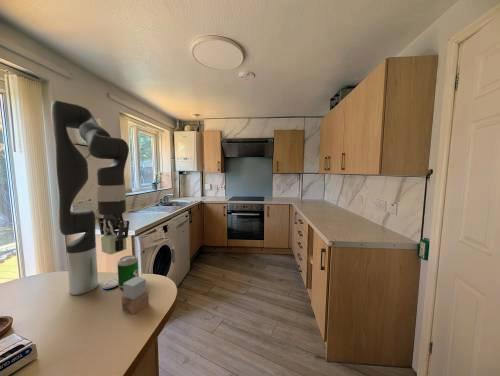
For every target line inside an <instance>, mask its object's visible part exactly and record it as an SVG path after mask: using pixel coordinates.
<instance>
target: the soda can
mask: <svg viewBox="0 0 500 376" xmlns="http://www.w3.org/2000/svg"><path fill="white" fill-rule="evenodd" d="M117 276H118V277H117V279H118V281H117V282H118V283H117V284H118V287H119V288H121V289H123V283H124V282H126V281H128V280H130V279H132V278H134V277H136V276H137V277H140V276H139V259H138V257H137V256H135V255H126V256H122V257H120V258H119V260H118V261H117Z"/></svg>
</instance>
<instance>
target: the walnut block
mask: <svg viewBox="0 0 500 376" xmlns="http://www.w3.org/2000/svg"><path fill="white" fill-rule="evenodd" d="M149 297H150V296H149V291H147V290H146V292H145V293H144V294H142V295H141V296H139V297H138V298H136V299H135V300H132V299H129V298H126V297H124V295H123V296H121V307H122V311H124V312H126V313H128V314H131V315H132V316H134V315H136V314H137V313H139V312H140V311H141V310H143V309H144V308H146V307H147V306H149V305H150V301H149V299H150V298H149Z"/></svg>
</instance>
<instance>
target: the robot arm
mask: <svg viewBox="0 0 500 376" xmlns="http://www.w3.org/2000/svg"><path fill="white" fill-rule="evenodd" d="M50 116H51V123H52V124H51V125H52V129H53V137H54V143H55V160H56V161H55V162H56V163H55V164H56V177H57V186H58V196H59V200H58V203H59V206H58V207H59V209H58V210H59V211H58V212H59V216H58V219H59V220H58V221H59V222H58V223H59V230H60V233H61V234H62V235H63V236H71V235H77V234H82V235H81V236H80V237H78V238H76V239H75V240H73V241H70V242H68V244H67V245H66V260H67V272H68V274H67V275H68V288H69V289H68V290H69V294H70V295H73V296H76V295H83V294H87V293H89V292H91V291H93V290H96V288H97V287H98V286H99V273H98V259H97V257H98V255H97V242H96V214H95V212H94V210H92V209H80V210H72V211H71V208H72V205H73V203H74V201H75V199H76V197H77V195H79V193H80V192H81V190H82V189H83V187H85V185H86V184H87V182H88V180H89V165H88V161H87V159H86V158H85V156H84V155H83V154H82V152H81V151H80V150H79V148H77V146H76V145H75V144H74V142H73V141H72V139H71V137H70V136H69V132H68V130H67V129H68V128H70V129H77V130H78V133H79V135H80V137H81V138H82V140H84V141H85V142H86V143H87V146H88V147H87V148H88V149H87V150H88V152H89V154H90V156H92V157H94V158H95V159H101V160H112V161H113V162H112V163H111V164H110V165H106V166H101V167H99V168H97V170H96V171H97V172H96V175H97V176H96V177H97V178H96V179H97V191H96V192H97V193H96V195H97V196H96V197H97V210H98V214H99V215H100V216H102V217H98V219H97V221H98V226H99V232H100V235H101V236H107V235H111V234H114V238H115V251H117V253H120V252H122V250H123V249H124V247H123V239H124V238H126V239H127V238H129V230H130V229H129V227H130V221H129V220H124V215H123V214H124V213H126V212H127V201H126V200H127V199H126V198H127V197H126V187H125V176H124V174H125V173H124V172H125V169H126V163H127V159H128V158H129V157H128V156H129V152H130V148H129V144H128V143H127V141H125V139H123V138H119V137H112V136H111V134H110V133H109V132H108V131H107V130H106V129H105V128H103V127H102V126H101V125H99V123H98V122H97V120H96V119H95V116H94V115H93V114H92V112H91V111H90V110H89V109H88V107H85V106H83V105H80V104H76V103H71V102H67V101H64V100H63V101H62V100H57V99H56V100H53V101H52V102H51V106H50ZM117 233H118V235H117ZM119 251H120V252H119ZM123 251H124V250H123Z"/></svg>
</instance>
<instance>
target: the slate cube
mask: <svg viewBox="0 0 500 376" xmlns="http://www.w3.org/2000/svg"><path fill="white" fill-rule="evenodd" d="M122 289H123V290H122V291H123V296H124V297H126V298H129V299H132V300H135V299H136V298H138V297H139V296H141V295H142V294H144V293H145V292H146V291H147V283H146V278H143V277H140V276H139V277H137V276H136V277H134V278H132V279H130V280H128V281H126V282H124V283H123V288H122Z"/></svg>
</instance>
